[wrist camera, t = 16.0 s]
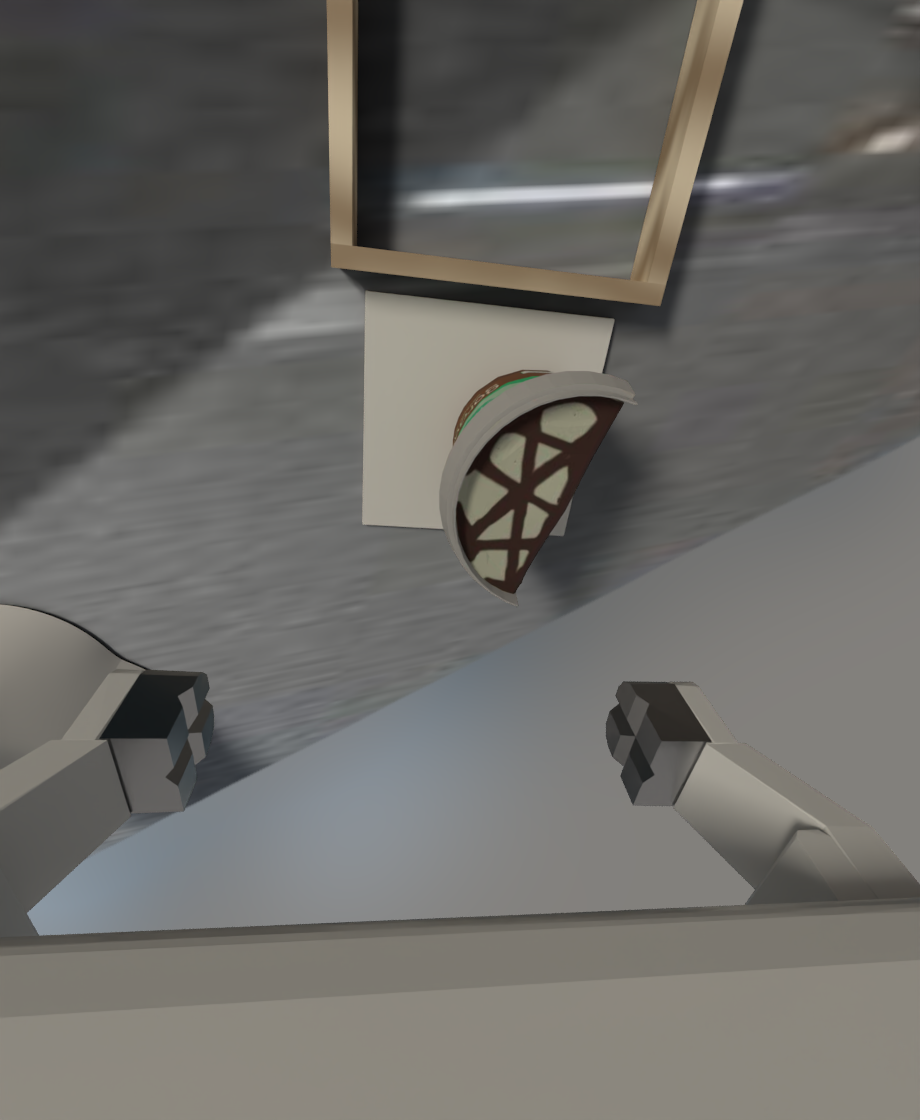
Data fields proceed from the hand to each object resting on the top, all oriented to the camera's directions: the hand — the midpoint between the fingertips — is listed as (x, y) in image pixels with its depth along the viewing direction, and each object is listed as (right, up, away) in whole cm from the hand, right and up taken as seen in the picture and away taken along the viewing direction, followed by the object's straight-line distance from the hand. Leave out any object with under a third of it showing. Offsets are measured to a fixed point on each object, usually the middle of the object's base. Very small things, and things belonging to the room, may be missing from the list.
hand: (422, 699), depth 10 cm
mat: (+2, +11, +22) cm, 25 cm away
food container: (+2, +11, +22) cm, 25 cm away
